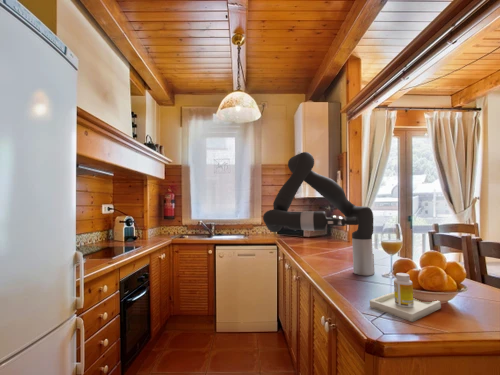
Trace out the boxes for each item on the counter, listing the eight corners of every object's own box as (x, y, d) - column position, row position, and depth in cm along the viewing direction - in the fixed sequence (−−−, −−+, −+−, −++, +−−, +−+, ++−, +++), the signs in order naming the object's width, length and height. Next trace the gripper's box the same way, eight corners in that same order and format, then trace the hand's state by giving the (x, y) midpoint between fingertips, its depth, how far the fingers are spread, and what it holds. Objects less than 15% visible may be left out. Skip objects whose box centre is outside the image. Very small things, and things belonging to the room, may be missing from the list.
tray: (398, 296, 101) (398, 290, 101) (440, 308, 89) (440, 301, 89) (369, 306, 91) (369, 300, 91) (412, 321, 79) (412, 314, 79)
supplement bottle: (417, 306, 89) (415, 275, 89) (406, 309, 86) (405, 277, 87) (401, 300, 94) (400, 271, 94) (391, 303, 91) (389, 273, 92)
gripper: (310, 212, 99) (357, 211, 93) (315, 210, 112) (356, 210, 107) (311, 232, 98) (358, 233, 93) (315, 228, 112) (357, 228, 106)
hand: (357, 220), depth 100 cm, fingers open, 8 cm apart
